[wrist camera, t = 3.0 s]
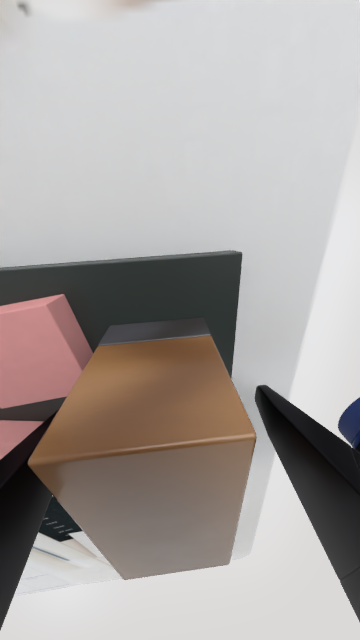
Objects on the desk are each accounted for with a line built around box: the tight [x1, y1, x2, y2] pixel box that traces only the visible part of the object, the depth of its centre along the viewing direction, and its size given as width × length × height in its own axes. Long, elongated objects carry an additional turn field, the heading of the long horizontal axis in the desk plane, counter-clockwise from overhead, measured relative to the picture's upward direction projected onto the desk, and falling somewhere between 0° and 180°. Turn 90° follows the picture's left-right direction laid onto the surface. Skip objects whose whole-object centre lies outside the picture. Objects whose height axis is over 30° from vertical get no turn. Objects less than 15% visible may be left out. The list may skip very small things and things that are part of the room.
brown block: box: [28, 317, 256, 580], centre depth 7 cm, size 4×8×5 cm, turn 4°
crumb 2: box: [0, 294, 93, 409], centre depth 7 cm, size 4×4×1 cm
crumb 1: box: [0, 420, 44, 460], centre depth 10 cm, size 4×4×1 cm
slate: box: [0, 251, 242, 421], centre depth 9 cm, size 17×13×1 cm
